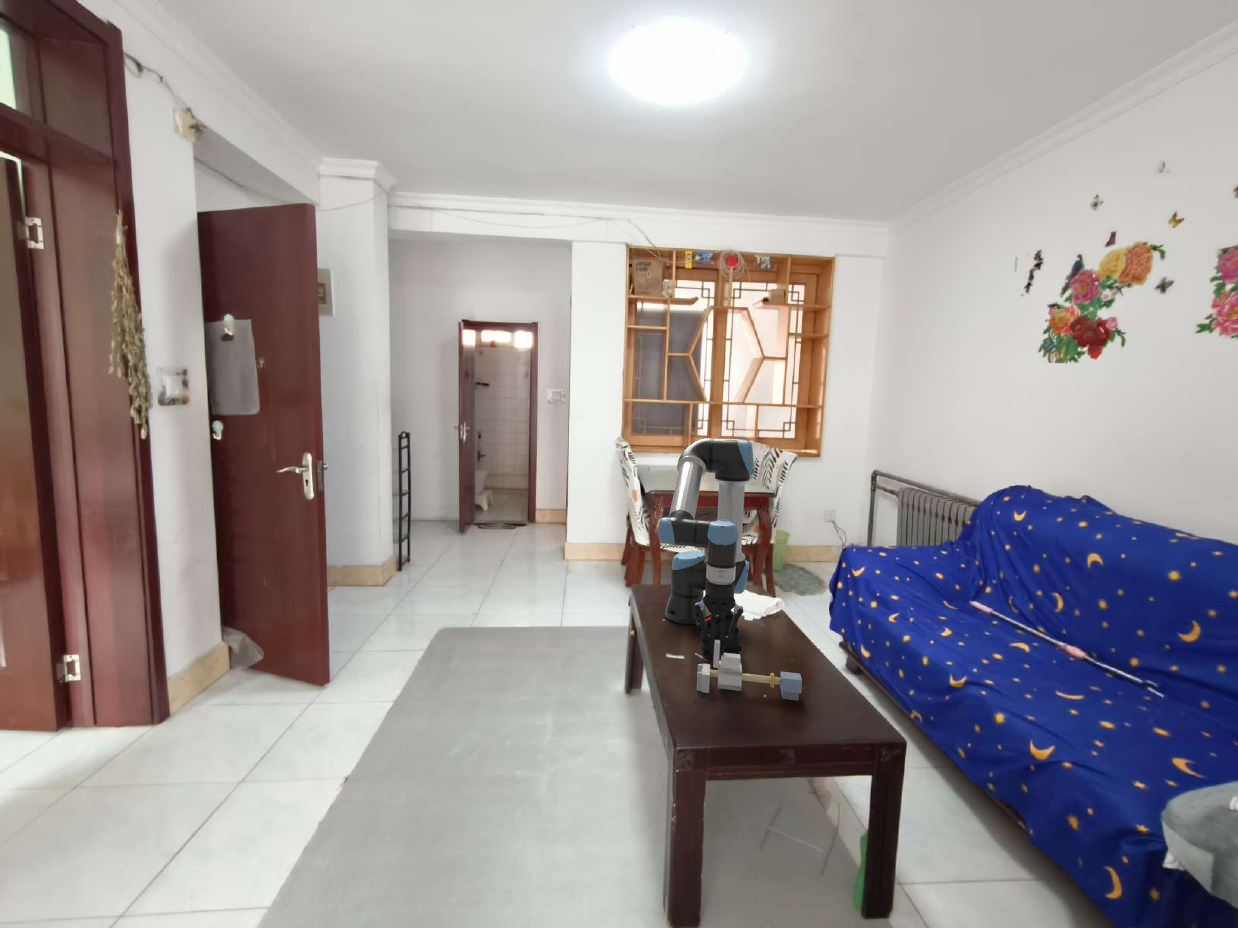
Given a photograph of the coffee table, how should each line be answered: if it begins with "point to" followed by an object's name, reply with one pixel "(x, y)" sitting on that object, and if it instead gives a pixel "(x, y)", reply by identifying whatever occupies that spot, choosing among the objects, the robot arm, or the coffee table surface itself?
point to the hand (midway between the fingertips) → (716, 665)
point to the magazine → (728, 647)
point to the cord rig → (787, 681)
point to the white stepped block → (730, 672)
